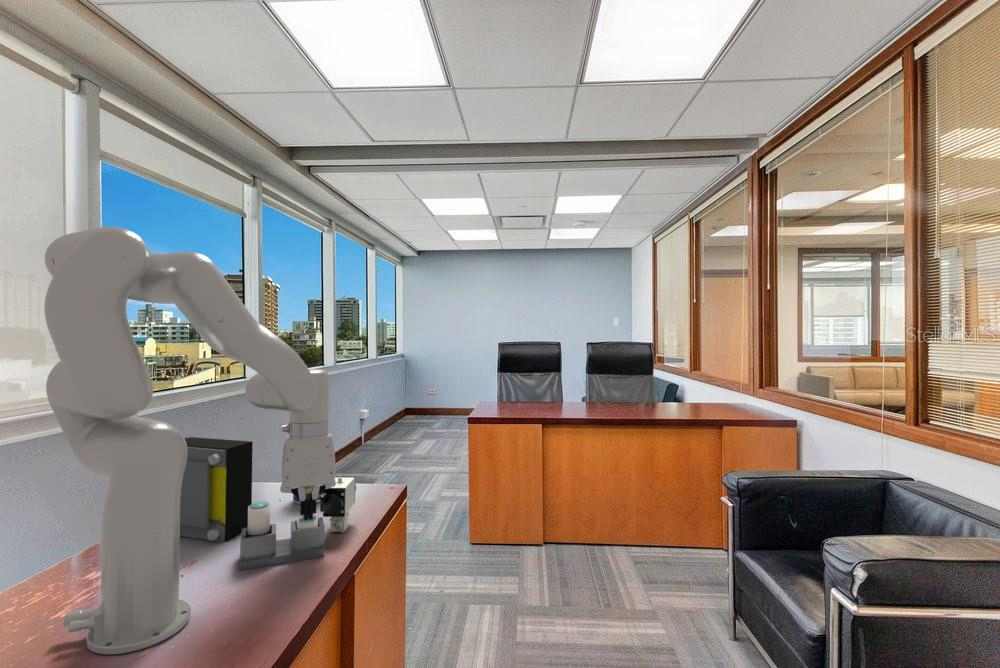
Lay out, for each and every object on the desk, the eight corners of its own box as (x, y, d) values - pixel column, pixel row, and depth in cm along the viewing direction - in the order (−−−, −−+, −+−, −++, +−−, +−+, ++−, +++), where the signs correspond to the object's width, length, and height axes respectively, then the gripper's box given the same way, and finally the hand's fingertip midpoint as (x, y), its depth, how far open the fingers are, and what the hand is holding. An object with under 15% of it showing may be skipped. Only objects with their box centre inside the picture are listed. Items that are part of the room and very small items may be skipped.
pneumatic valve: (356, 520, 117) (357, 470, 116) (342, 540, 105) (343, 485, 105) (333, 520, 116) (334, 470, 116) (316, 540, 105) (317, 485, 105)
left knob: (247, 536, 93) (247, 509, 93) (248, 528, 97) (248, 502, 97) (270, 533, 95) (270, 506, 95) (270, 525, 99) (270, 500, 99)
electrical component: (150, 536, 105) (152, 445, 105) (191, 519, 115) (192, 435, 115) (217, 546, 101) (219, 451, 101) (253, 527, 111) (254, 440, 111)
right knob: (297, 549, 97) (297, 522, 97) (296, 541, 101) (296, 515, 101) (318, 545, 99) (318, 519, 99) (316, 538, 103) (317, 513, 103)
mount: (239, 570, 91) (240, 541, 91) (242, 553, 98) (242, 526, 98) (324, 556, 98) (325, 528, 98) (321, 540, 105) (321, 515, 105)
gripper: (269, 435, 93) (268, 530, 93) (349, 430, 100) (348, 518, 100) (269, 428, 100) (268, 516, 100) (344, 423, 106) (343, 506, 107)
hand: (308, 517), depth 100 cm, fingers closed
